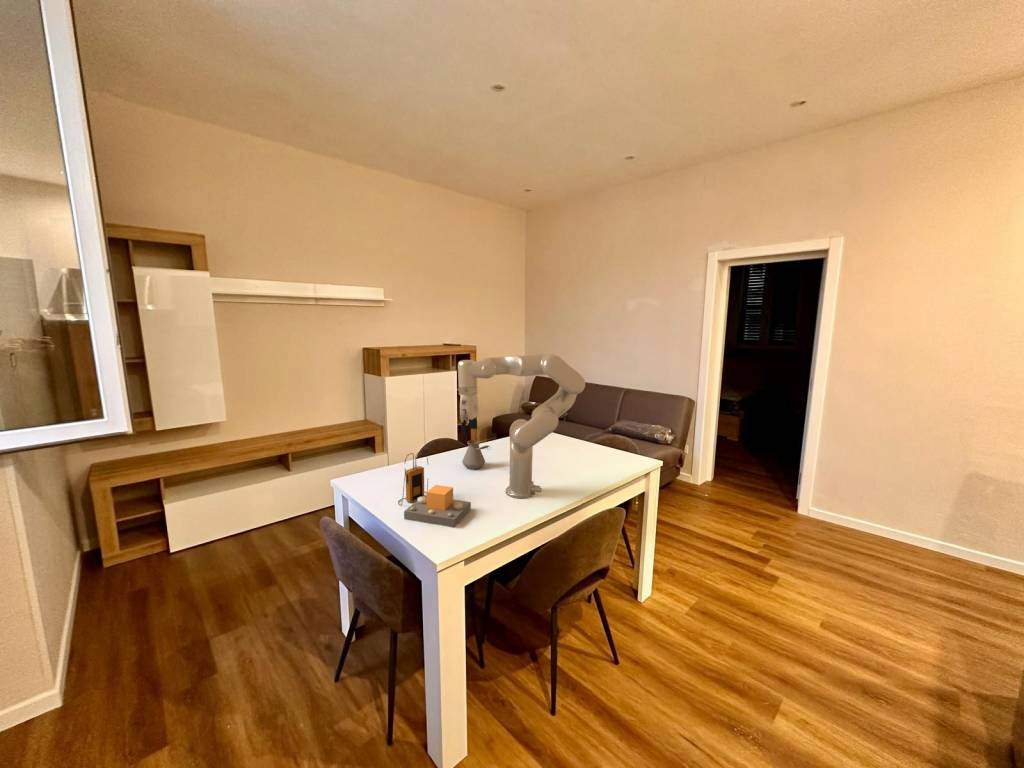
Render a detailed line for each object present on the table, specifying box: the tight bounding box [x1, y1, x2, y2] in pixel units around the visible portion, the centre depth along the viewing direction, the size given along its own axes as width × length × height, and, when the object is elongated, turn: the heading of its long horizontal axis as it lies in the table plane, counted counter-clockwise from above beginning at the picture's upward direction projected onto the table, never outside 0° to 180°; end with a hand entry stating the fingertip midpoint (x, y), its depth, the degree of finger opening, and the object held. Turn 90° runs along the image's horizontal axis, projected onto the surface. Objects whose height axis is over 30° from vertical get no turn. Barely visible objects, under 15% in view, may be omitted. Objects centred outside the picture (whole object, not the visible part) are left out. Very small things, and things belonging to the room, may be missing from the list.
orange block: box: [425, 484, 454, 510], centre depth 152 cm, size 7×7×6 cm
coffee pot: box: [461, 439, 491, 470], centre depth 198 cm, size 21×12×15 cm, turn 33°
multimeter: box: [397, 450, 429, 506], centre depth 165 cm, size 15×10×20 cm
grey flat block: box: [403, 494, 472, 528], centre depth 151 cm, size 20×15×4 cm
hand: (469, 431), depth 166 cm, fingers open, 9 cm apart
